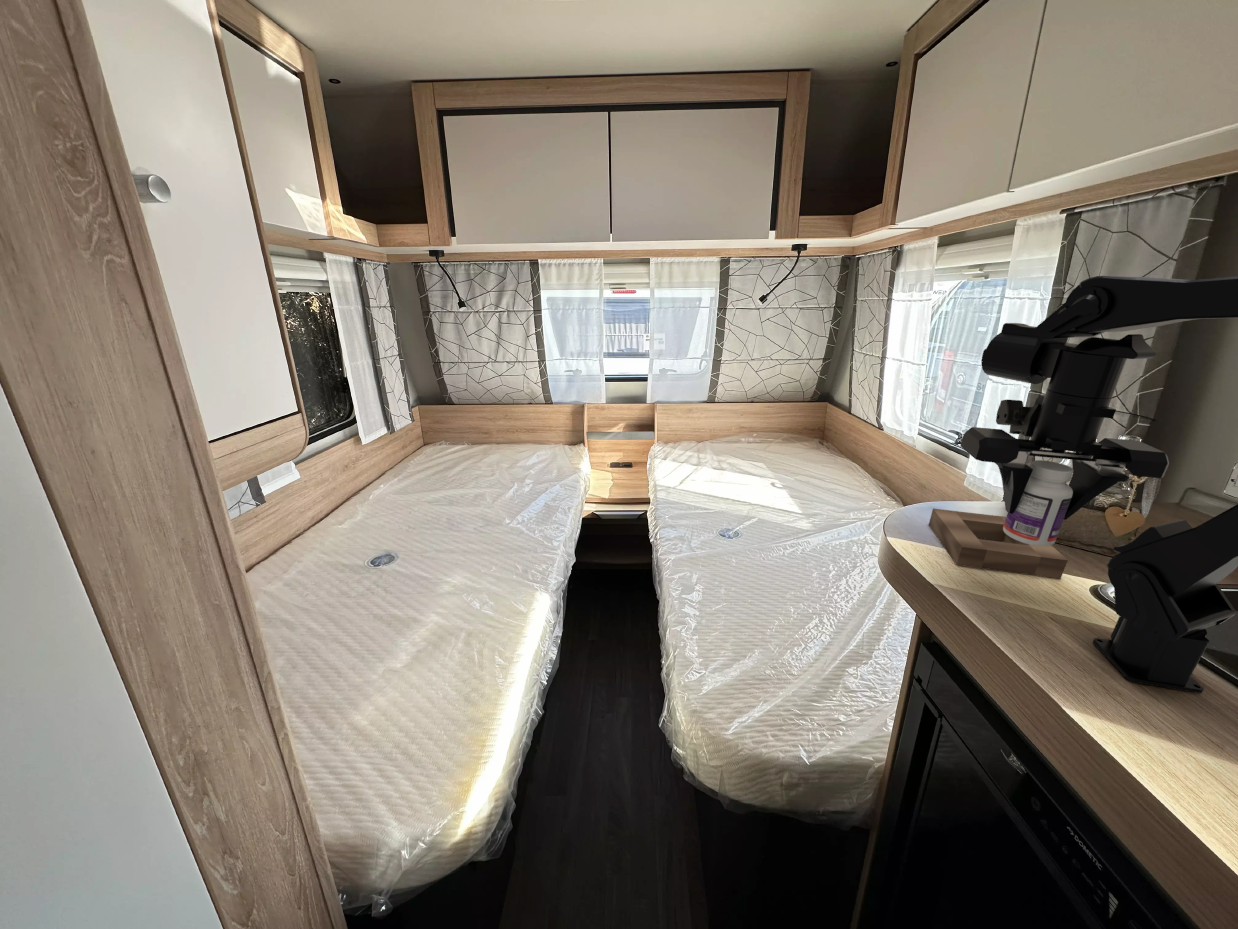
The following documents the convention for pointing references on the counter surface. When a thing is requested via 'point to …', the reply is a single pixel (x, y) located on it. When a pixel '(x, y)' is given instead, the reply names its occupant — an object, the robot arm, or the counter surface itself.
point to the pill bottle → (1041, 505)
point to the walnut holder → (992, 545)
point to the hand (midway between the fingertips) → (1035, 515)
